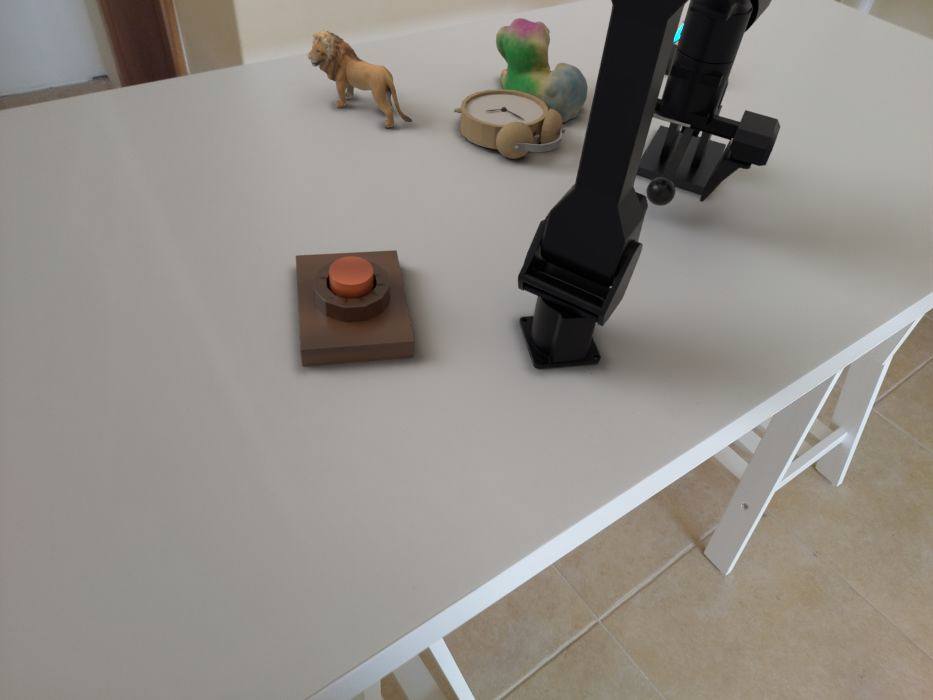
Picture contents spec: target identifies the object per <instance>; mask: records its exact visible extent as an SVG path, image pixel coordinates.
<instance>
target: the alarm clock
mask: <svg viewBox="0 0 933 700" xmlns="http://www.w3.org/2000/svg"><path fill="white" fill-rule="evenodd" d="M453 110H454V112H453V113H458V114H460V125H459V126H460V127H459V130H460V132H461V134H462V136H463V137H464V138H465V139H467V141H469V142H470V143H473V144H475V145H478V146H480V147H482V148H488V149H491V150H498V152H499V153H500V155H502V156H503V157H505V158H507V159H511V160H512V159H513V160H517V159H521V158H523V157H524V156H526V155H527V154H528V153H529V152H531V153H545V152H550V151H553V150H555V149H557V148H559V147H560V146H561V145H562V142H563V141H562V140H563V134H565V133H566V129H565V128H564V125H563V122H562V118H561V115H560V114H559V113H558V112H557V111H556V110H553V109H549V111H548V107H547V106H546V104H545V103H544V102H543V101H542V100H540V99H539V98H537V97H535V96H533V95H530V94H528V93H524V92H520V91H515V90H504V89H502V88H498V89H497V88H495V89H486V90H481V91H476V92H473V93H472V94H469V95H467V96H466V97H465V98H464V99H463V100H462V101H461V105H460V107H457V108H454V109H453ZM539 143H540V144H539Z"/></svg>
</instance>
